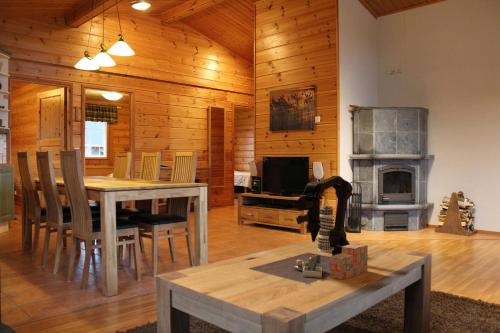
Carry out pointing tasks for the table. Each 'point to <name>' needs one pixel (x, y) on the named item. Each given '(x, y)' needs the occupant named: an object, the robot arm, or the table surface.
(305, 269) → the tray
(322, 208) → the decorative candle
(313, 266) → the dark metal cylinder
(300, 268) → the crank base
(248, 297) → the table surface
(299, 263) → the crank
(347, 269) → the stack of blocks
